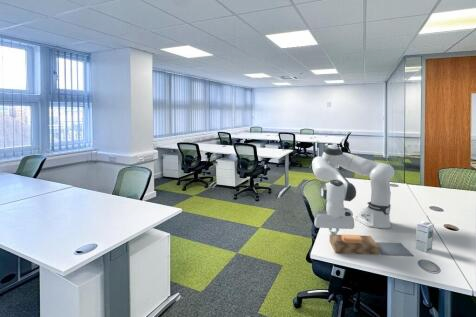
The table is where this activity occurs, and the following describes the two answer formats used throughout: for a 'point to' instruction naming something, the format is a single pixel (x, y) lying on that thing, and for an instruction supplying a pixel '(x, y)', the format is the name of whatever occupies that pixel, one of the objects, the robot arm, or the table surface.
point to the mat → (393, 249)
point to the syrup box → (424, 236)
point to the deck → (355, 246)
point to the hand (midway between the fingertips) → (333, 235)
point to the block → (351, 238)
